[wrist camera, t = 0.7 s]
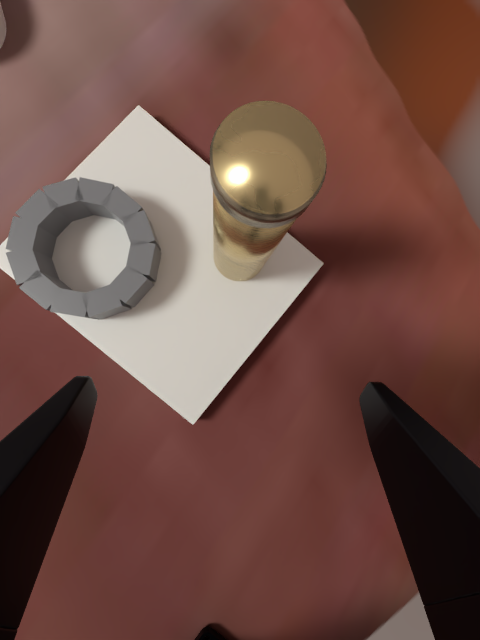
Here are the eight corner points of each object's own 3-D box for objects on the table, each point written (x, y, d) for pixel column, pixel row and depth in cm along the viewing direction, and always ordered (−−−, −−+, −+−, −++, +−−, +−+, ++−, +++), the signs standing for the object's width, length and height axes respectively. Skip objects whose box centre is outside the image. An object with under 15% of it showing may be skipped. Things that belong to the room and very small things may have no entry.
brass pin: (276, 253, 22) (351, 153, 10) (242, 293, 21) (278, 239, 9) (235, 218, 22) (262, 74, 10) (200, 258, 21) (183, 158, 9)
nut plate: (318, 267, 23) (335, 255, 20) (194, 420, 22) (190, 435, 18) (142, 117, 23) (130, 78, 19) (0, 262, 21) (-41, 248, 18)
